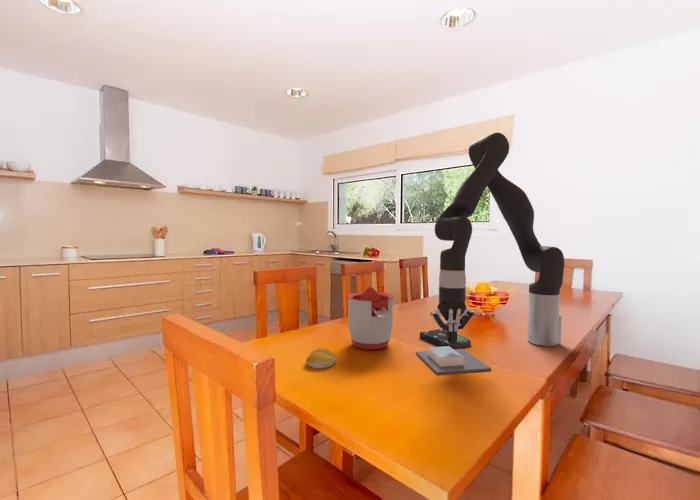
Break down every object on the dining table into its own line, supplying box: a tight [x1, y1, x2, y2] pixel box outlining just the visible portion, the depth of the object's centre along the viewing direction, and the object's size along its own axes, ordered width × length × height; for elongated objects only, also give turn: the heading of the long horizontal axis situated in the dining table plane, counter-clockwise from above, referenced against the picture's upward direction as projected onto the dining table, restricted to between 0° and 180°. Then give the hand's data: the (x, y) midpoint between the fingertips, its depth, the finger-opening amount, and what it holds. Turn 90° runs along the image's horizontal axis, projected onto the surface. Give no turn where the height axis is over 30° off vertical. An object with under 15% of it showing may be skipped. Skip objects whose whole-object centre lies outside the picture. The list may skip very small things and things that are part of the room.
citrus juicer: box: [347, 286, 395, 351], centre depth 117 cm, size 16×17×20 cm
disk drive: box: [419, 328, 472, 349], centre depth 122 cm, size 10×3×15 cm
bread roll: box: [305, 347, 336, 369], centre depth 102 cm, size 8×9×4 cm
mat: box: [415, 348, 492, 375], centre depth 103 cm, size 16×16×1 cm
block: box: [427, 346, 464, 367], centre depth 103 cm, size 3×9×7 cm
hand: (451, 343), depth 103 cm, fingers closed
